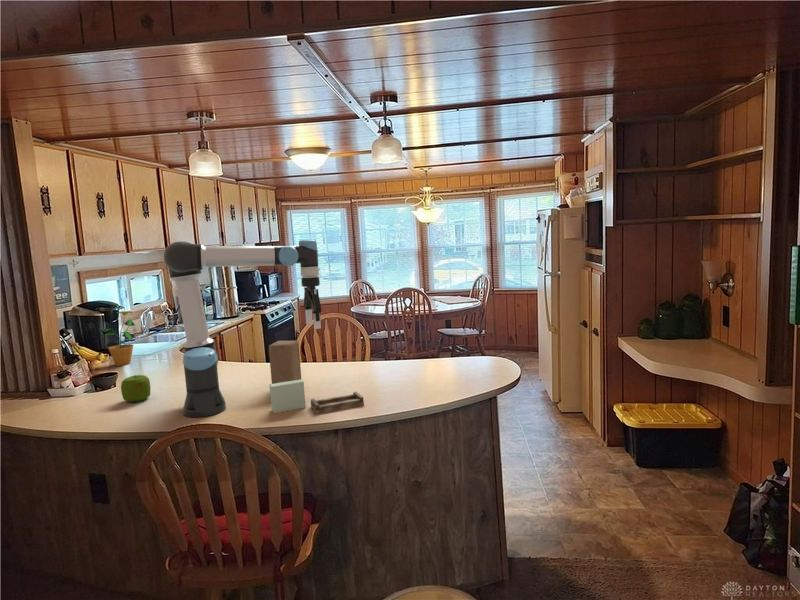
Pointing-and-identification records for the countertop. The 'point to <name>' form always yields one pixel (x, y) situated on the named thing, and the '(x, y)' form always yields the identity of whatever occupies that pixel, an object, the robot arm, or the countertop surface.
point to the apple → (135, 388)
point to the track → (337, 403)
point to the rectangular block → (287, 395)
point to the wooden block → (284, 361)
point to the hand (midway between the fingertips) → (313, 326)
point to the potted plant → (121, 352)
